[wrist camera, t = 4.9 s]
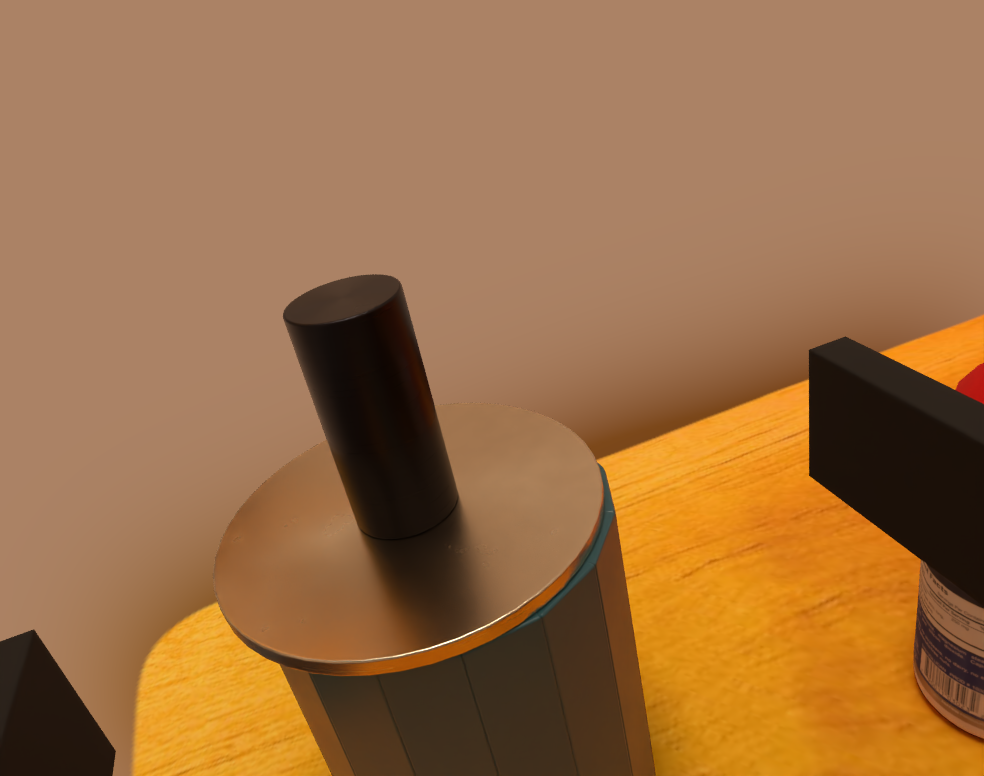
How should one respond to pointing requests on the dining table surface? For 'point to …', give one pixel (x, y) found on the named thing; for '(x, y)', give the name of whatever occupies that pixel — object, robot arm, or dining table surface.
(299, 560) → the lid
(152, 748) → the dining table surface
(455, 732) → the tin
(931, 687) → the pill bottle
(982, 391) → the tomato
